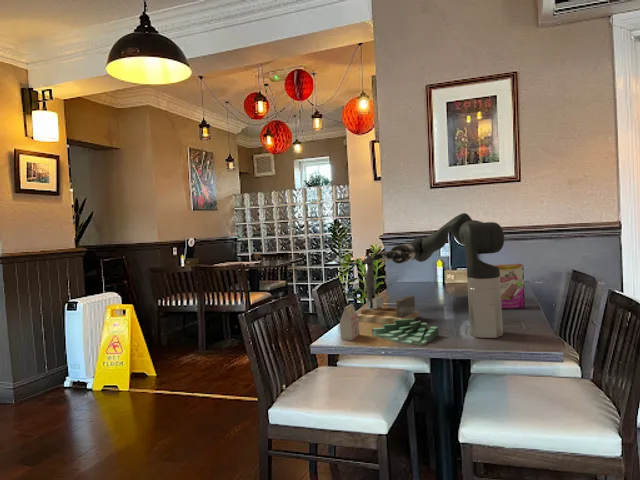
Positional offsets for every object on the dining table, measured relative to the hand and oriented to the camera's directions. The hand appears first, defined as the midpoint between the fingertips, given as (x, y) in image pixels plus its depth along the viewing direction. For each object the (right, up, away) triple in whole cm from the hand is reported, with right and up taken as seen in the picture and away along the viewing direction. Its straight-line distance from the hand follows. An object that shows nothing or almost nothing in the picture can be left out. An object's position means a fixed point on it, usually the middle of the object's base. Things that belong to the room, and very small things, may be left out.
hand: (383, 257), depth 182 cm
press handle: (-5, -20, -9) cm, 22 cm away
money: (+1, -23, -38) cm, 45 cm away
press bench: (-1, -22, -12) cm, 25 cm away
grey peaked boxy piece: (-15, -24, -35) cm, 45 cm away
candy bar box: (+46, -19, -6) cm, 50 cm away
